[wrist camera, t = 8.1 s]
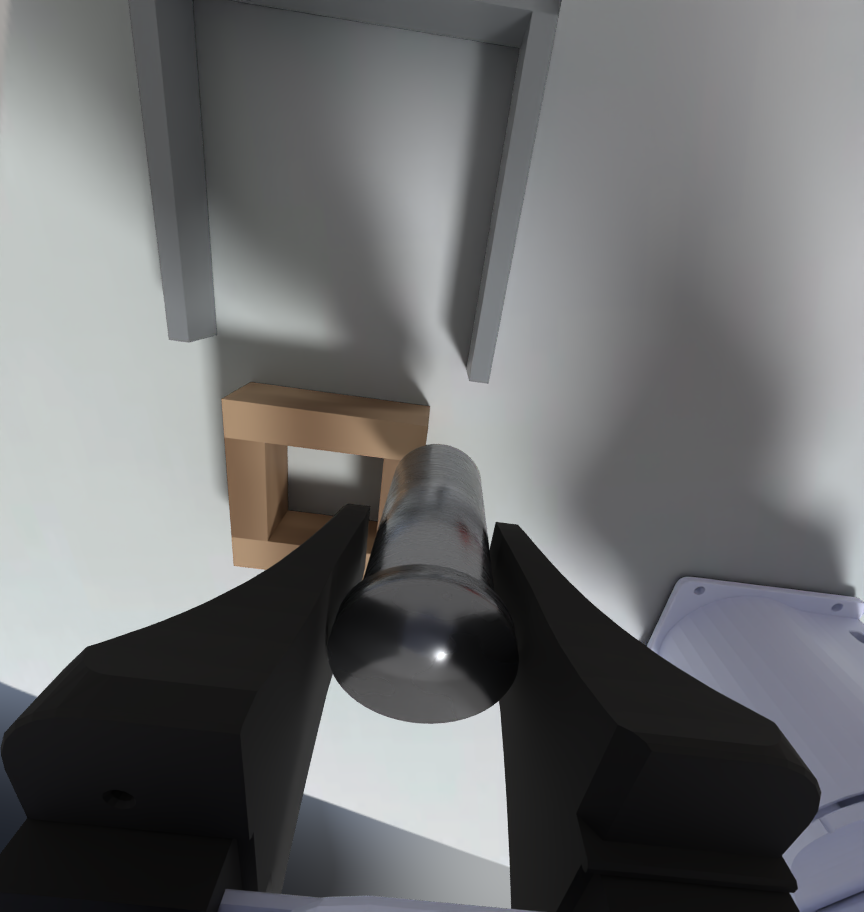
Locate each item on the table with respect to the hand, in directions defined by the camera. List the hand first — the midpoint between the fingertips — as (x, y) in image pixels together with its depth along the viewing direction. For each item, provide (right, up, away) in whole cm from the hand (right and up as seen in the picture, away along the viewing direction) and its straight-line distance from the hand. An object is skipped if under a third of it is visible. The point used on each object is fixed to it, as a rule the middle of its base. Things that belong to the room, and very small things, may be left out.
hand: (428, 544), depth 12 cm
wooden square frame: (-4, +2, +7) cm, 9 cm away
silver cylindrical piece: (0, +1, +3) cm, 3 cm away
